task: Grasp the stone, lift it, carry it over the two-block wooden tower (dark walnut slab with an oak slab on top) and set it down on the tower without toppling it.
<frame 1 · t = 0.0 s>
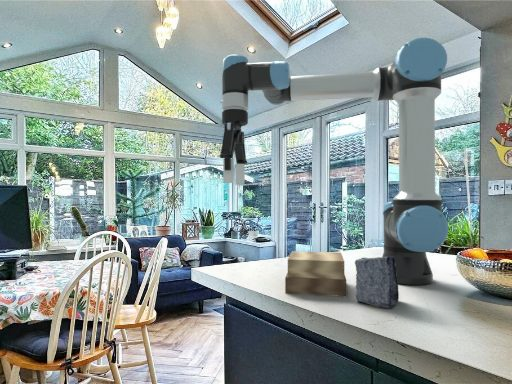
hand: (234, 184, 100), 28 cm above the counter, fingers open, 13 cm apart
tower top: (315, 272, 93), point 4 cm above the counter
stone: (376, 303, 80), on the counter
tower base: (315, 289, 94), on the counter
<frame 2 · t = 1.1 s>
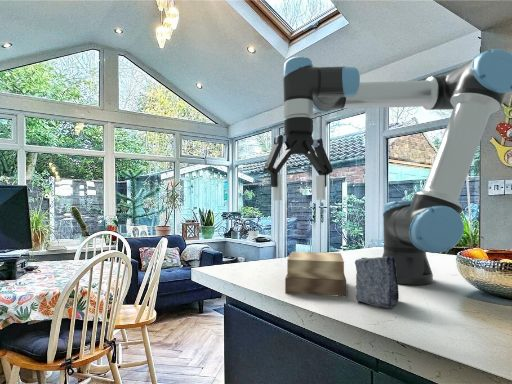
hand: (299, 200, 90), 24 cm above the counter, fingers open, 13 cm apart
nothing on the counter moved.
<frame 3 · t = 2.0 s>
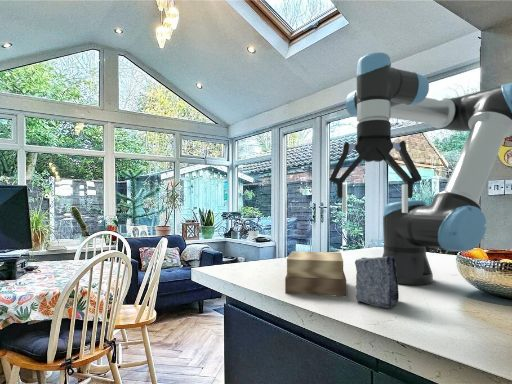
hand: (373, 212, 81), 21 cm above the counter, fingers open, 13 cm apart
tower top: (315, 272, 94), point 4 cm above the counter, touching tower base
tower base: (315, 289, 93), on the counter, touching tower top
everything else where it was.
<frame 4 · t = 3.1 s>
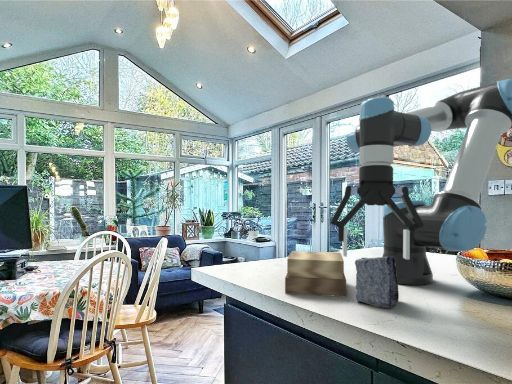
hand: (375, 257, 80), 10 cm above the counter, fingers open, 13 cm apart
nothing on the counter moved.
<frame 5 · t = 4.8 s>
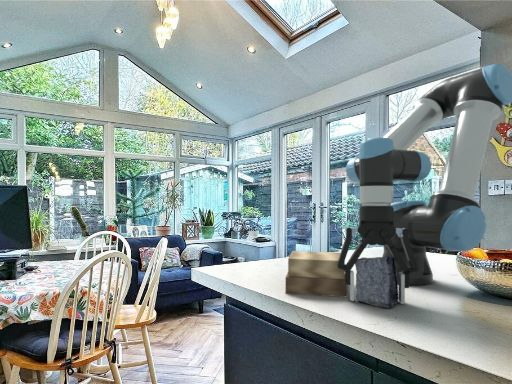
hand: (376, 300, 80), 0 cm above the counter, fingers closed on stone, 10 cm apart
stone: (376, 303, 80), on the counter, touching gripper
everything else where it was.
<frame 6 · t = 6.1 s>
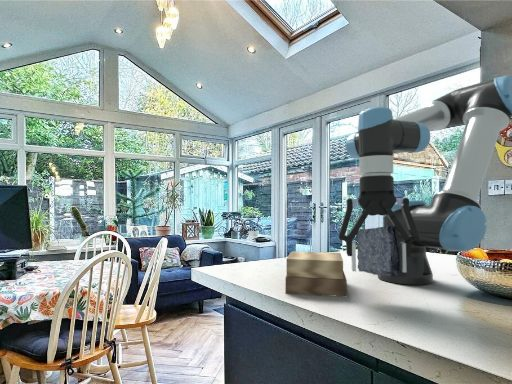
hand: (378, 270, 81), 7 cm above the counter, fingers closed on stone, 10 cm apart
stone: (378, 273, 81), point 7 cm above the counter, touching gripper
everything else where it was.
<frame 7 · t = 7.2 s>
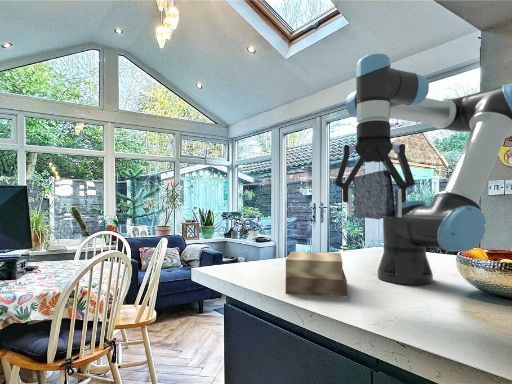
hand: (373, 216, 81), 20 cm above the counter, fingers closed on stone, 10 cm apart
stone: (373, 219, 81), point 19 cm above the counter, touching gripper
everything else where it was.
when the fingers open (11 cm above the counter, at t = 10.9 s): stone drops 2 cm, resting on tower top.
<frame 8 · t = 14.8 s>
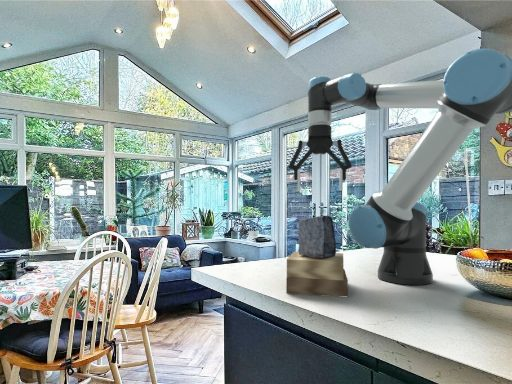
hand: (319, 190, 114), 27 cm above the counter, fingers open, 13 cm apart
tower top: (316, 273, 93), point 4 cm above the counter, touching stone, tower base
stone: (316, 256, 94), point 8 cm above the counter, touching tower top
everything else where it was.
at the end: stone inside the target area on the tower base (0.3 cm from its centre), point 8.8 cm above the tower base's base; tower top inside the target area on the tower base (0.2 cm from its centre), point 4.5 cm above the tower base's base; stone touching tower top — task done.
